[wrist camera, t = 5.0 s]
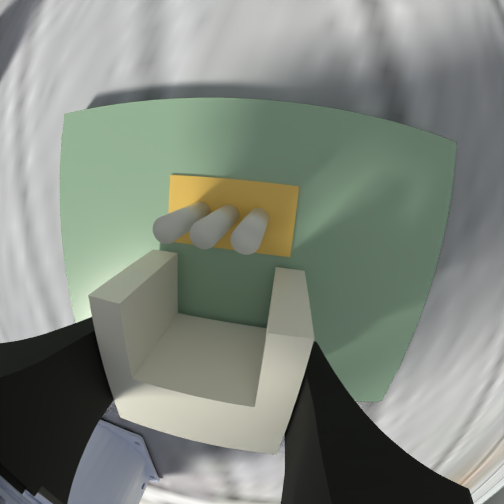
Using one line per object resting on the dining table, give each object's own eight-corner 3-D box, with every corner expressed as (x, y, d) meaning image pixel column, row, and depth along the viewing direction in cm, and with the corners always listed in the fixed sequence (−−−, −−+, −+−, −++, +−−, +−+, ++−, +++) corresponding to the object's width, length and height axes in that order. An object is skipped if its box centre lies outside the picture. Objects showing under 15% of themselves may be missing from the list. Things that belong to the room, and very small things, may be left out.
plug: (282, 377, 11) (276, 454, 7) (159, 354, 11) (120, 417, 8) (304, 270, 9) (314, 338, 6) (153, 249, 10) (88, 295, 6)
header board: (376, 385, 12) (394, 446, 8) (92, 336, 14) (51, 377, 10) (441, 143, 8) (506, 139, 5) (80, 116, 10) (15, 108, 6)
